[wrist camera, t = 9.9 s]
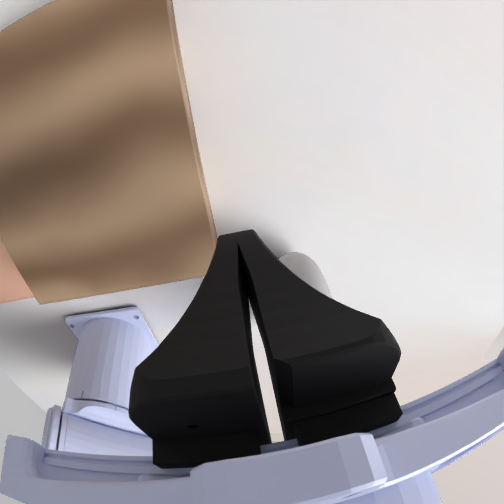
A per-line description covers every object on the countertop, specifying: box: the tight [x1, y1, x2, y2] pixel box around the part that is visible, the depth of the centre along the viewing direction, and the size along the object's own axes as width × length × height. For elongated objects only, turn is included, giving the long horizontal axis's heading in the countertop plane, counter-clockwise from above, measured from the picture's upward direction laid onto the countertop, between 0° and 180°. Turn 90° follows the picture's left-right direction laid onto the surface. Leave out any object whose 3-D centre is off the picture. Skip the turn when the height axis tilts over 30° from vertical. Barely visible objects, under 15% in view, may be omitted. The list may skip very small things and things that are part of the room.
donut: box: [279, 252, 332, 298], centre depth 22 cm, size 10×4×10 cm, turn 11°
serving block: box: [0, 0, 217, 305], centre depth 15 cm, size 18×14×4 cm
